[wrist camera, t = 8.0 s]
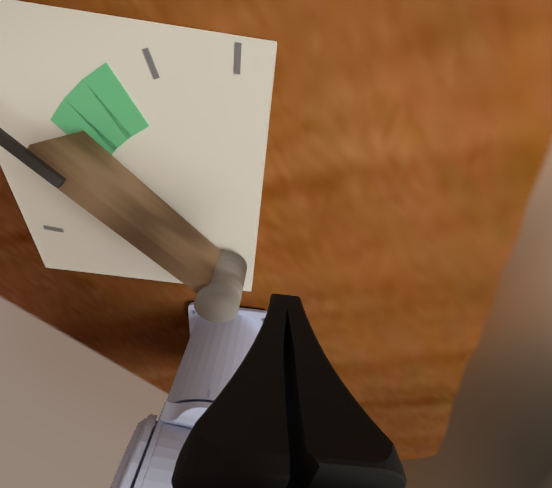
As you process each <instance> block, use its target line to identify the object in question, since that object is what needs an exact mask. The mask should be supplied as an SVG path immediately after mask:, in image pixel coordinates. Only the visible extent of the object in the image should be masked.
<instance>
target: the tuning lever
mask: <svg viewBox="0 0 552 488" xmlns="http://www.w3.org/2000/svg"><path fill="white" fill-rule="evenodd" d="M0 146H1V147H3V148H4V149H5V150H7V151H8V152H9V153H11V154H12V155H13V156H15V157H16V158H17V159H19V160H20V161H21V162H22V163H24V164H25V165H26V166H28V167H29V168H30V169H32V170H33V171H34V172H36V173H37V174H38V175H40V176H41V177H42V178H44V179H45V180H46V181H48V182H49V183H50V184H52V185H53V186H54V187H56V188H57V189H58V190H60V191H61V192H62V193H64V194H65V195H66V196H68V197H69V198H70V199H72V200H73V201H74V202H76V203H77V204H78V205H80V206H81V207H82V208H84V209H85V210H86V211H88V212H89V213H90V214H92V215H93V216H94V217H96V218H97V219H98V220H100V221H101V222H102V223H104V224H105V225H106V226H108V227H109V228H110V229H112V230H113V231H114V232H116V233H117V234H118V235H120V236H121V237H122V238H124V239H125V240H126V241H128V242H129V243H130V244H132V245H133V246H134V247H136V248H137V249H138V250H140V251H141V252H142V253H144V254H145V255H146V256H148V257H149V258H150V259H152V260H153V261H154V262H156V263H157V264H158V265H160V266H161V267H162V268H164V269H165V270H166V271H168V272H169V273H170V274H172V275H173V276H174V277H175V278H177V279H178V280H179V281H181V282H182V283H183V284H185V285H186V286H187V287H189V288H190V289H191V290H193V291H194V292H195V293H197V296H196V298H195V301H194V309H195V311H196V312H197V314H198V315H199V316H200V317H202V318H203V319H205V320H207V321H210V322H214V323H225V322H229V321H231V320H233V319H234V318H235V317H236V316H237V314H238V311H239V306H240V301H241V296H242V291H243V286H244V281H245V276H246V271H247V264H246V261H245V260H244V258H243V257H242V256H241V255H239V254H237V253H235V252H232V251H220V250H219V249H218V248H217V247H216V246H215V245H214V244H213V243H211V242H210V241H209V240H208V239H207V238H206V237H205V236H203V235H202V234H201V233H200V232H199V231H198V230H197V229H195V228H194V227H193V226H192V225H191V224H190V223H189V222H187V221H186V220H185V219H184V218H183V217H182V216H181V215H179V214H178V213H177V212H176V211H175V210H174V209H173V208H171V207H170V206H169V205H168V204H167V203H166V202H165V201H163V200H162V199H161V198H160V197H159V196H158V195H157V194H155V193H154V192H153V191H152V190H151V189H150V188H149V187H147V186H146V185H145V184H144V183H143V182H142V181H141V180H139V179H138V178H137V177H136V176H135V175H134V174H133V173H131V172H130V171H129V170H128V169H127V168H126V167H125V166H123V165H122V164H121V163H120V162H119V161H118V160H117V159H116V158H114V157H113V156H112V155H111V154H110V153H109V152H108V151H106V150H105V149H104V148H103V147H102V146H101V145H100V144H98V143H97V142H96V141H95V140H94V139H93V138H92V137H90V136H89V135H88V134H87V133H86V132H85V131H80V132H76V133H72V134H68V135H65V136H61V137H57V138H53V139H49V140H45V141H41V142H38V143H34V144H30V145H29V147H28V148H26V147H24V146H23V145H22V144H21V143H19V142H18V141H17V140H15V139H14V138H13V137H12V136H10V135H9V134H8V133H6V132H5V131H4V130H3V129H1V128H0Z"/></svg>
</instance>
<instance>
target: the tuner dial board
mask: <svg viewBox="0 0 552 488" xmlns="http://www.w3.org/2000/svg"><path fill="white" fill-rule="evenodd" d="M276 51H277V42H276V41H269V40H263V39H257V38H250V37H244V36H238V35H231V34H225V33H219V32H212V31H206V30H200V29H193V28H187V27H181V26H174V25H168V24H162V23H155V22H149V21H143V20H136V19H130V18H124V17H117V16H111V15H105V14H98V13H92V12H86V11H80V10H73V9H67V8H61V7H54V6H48V5H42V4H35V3H29V2H23V1H16V0H0V128H1V129H3V130H4V131H5V132H6V133H8V134H9V135H10V136H12V137H13V138H14V139H15V140H17V141H18V142H19V143H21V144H22V145H23V146H24V147H26V148H28V147H29V145H30V144H34V143H38V142H41V141H45V140H49V139H53V138H57V137H61V136H65V135H68V134H72V133H76V132H80V131H85V132H86V133H87V134H88V135H89V136H90V137H92V138H93V139H94V140H95V141H96V142H97V143H98V144H100V145H101V146H102V147H103V148H104V149H105V150H106V151H108V152H109V153H110V154H111V155H112V156H113V157H114V158H116V159H117V160H118V161H119V162H120V163H121V164H122V165H123V166H125V167H126V168H127V169H128V170H129V171H130V172H131V173H133V174H134V175H135V176H136V177H137V178H138V179H139V180H141V181H142V182H143V183H144V184H145V185H146V186H147V187H149V188H150V189H151V190H152V191H153V192H154V193H155V194H157V195H158V196H159V197H160V198H161V199H162V200H163V201H165V202H166V203H167V204H168V205H169V206H170V207H171V208H173V209H174V210H175V211H176V212H177V213H178V214H179V215H181V216H182V217H183V218H184V219H185V220H186V221H187V222H189V223H190V224H191V225H192V226H193V227H194V228H195V229H197V230H198V231H199V232H200V233H201V234H202V235H203V236H205V237H206V238H207V239H208V240H209V241H210V242H211V243H213V244H214V245H215V246H216V247H217V248H218V249H219V250H220V251H232V252H235V253H237V254H239V255H241V256H242V257H243V258H244V260H245V261H246V264H247V271H246V276H245V281H244V286H243V291H250V292H251V289H252V282H253V272H254V263H255V253H256V244H257V234H258V224H259V215H260V205H261V196H262V186H263V176H264V167H265V157H266V147H267V138H268V128H269V119H270V109H271V99H272V90H273V80H274V71H275V61H276ZM0 165H1V167H2V170H3V172H4V174H5V177H6V179H7V181H8V183H9V186H10V188H11V190H12V192H13V195H14V197H15V199H16V201H17V204H18V206H19V208H20V210H21V213H22V215H23V217H24V219H25V222H26V224H27V226H28V228H29V231H30V233H31V235H32V238H33V240H34V242H35V244H36V247H37V249H38V251H39V253H40V256H41V258H42V260H43V262H44V265H45V267H46V268H54V269H63V270H71V271H80V272H88V273H97V274H105V275H114V276H122V277H131V278H139V279H148V280H156V281H165V282H173V283H182V282H181V281H179V280H178V279H177V278H175V277H174V276H173V275H172V274H170V273H169V272H168V271H166V270H165V269H164V268H162V267H161V266H160V265H158V264H157V263H156V262H154V261H153V260H152V259H150V258H149V257H148V256H146V255H145V254H144V253H142V252H141V251H140V250H138V249H137V248H136V247H134V246H133V245H132V244H130V243H129V242H128V241H126V240H125V239H124V238H122V237H121V236H120V235H118V234H117V233H116V232H114V231H113V230H112V229H110V228H109V227H108V226H106V225H105V224H104V223H102V222H101V221H100V220H98V219H97V218H96V217H94V216H93V215H92V214H90V213H89V212H88V211H86V210H85V209H84V208H82V207H81V206H80V205H78V204H77V203H76V202H74V201H73V200H72V199H70V198H69V197H68V196H66V195H65V194H64V193H62V192H61V191H60V190H58V189H57V188H56V187H54V186H53V185H52V184H50V183H49V182H48V181H46V180H45V179H44V178H42V177H41V176H40V175H38V174H37V173H36V172H34V171H33V170H32V169H30V168H29V167H28V166H26V165H25V164H24V163H22V162H21V161H20V160H19V159H17V158H16V157H15V156H13V155H12V154H11V153H9V152H8V151H7V150H5V149H4V148H3V147H1V146H0ZM182 284H183V283H182Z"/></svg>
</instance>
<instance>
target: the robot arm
mask: <svg viewBox="0 0 552 488" xmlns="http://www.w3.org/2000/svg"><path fill="white" fill-rule="evenodd" d="M193 310H194V311H193ZM188 316H189V329H190V339H189V341H188V344H187V347H186V350H185V352H184V355H183V358H182V360H181V363H180V366H179V368H178V371H177V374H176V377H175V379H174V382H173V385H172V387H171V390H170V393H169V396H168V398H167V401H166V402H165V404H164V406H163V409H162V412H161V414H160V417H159V419H158V421H156V418H157V415H153V414H150V415H149V416H148V417H147V418H145V419H144V420H142V421H141V422H139V423H138V425H137V427H136V429H135V431H134V433H133V436H132V438H131V440H130V442H129V444H128V446H127V449H126V451H125V453H124V456H123V458H122V460H121V463H120V465H119V467H118V470H117V472H116V474H115V477H114V479H113V482H112V484H111V487H110V488H404V487H405V486H406V477H405V473H404V470H403V467H402V464H401V461H400V459H399V456H398V454H397V451H396V449H395V447H394V444H393V443H392V442H391V441H390V439H389V438H388V437H387V436H386V435H385V434H384V433H383V432H382V431H381V430H380V429H379V427H378V426H377V425H376V424H375V423H374V422H373V421H372V419H371V418H370V417H369V416H368V415H367V413H366V412H365V411H364V410H363V409H362V407H361V406H360V405H359V404H358V402H357V401H356V400H355V398H354V397H353V396H352V394H351V393H350V392H349V390H348V389H347V388H346V386H345V385H344V384H343V382H342V381H341V379H340V378H339V376H338V375H337V373H336V372H335V370H334V369H333V367H332V365H331V364H330V362H329V360H328V359H327V357H326V355H325V354H324V352H323V350H322V348H321V346H320V344H319V342H318V340H317V338H316V336H315V334H314V332H313V330H312V328H311V326H310V323H309V321H308V319H307V316H306V314H305V311H304V308H303V305H302V302H301V299H300V298H299V297H298V296H289V295H281V294H272V295H271V298H270V304H269V308H268V311H265V310H257V309H248V308H239V311H238V314H237V316H236V317H235V318H234V319H233V320H231V321H229V322H225V323H214V322H210V321H207V320H205V319H203V318H202V317H200V316H199V315H198V314H197V312H196V311H195V309H194V302H191V303H190V304H189V305H188ZM263 318H265V319H263Z"/></svg>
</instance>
